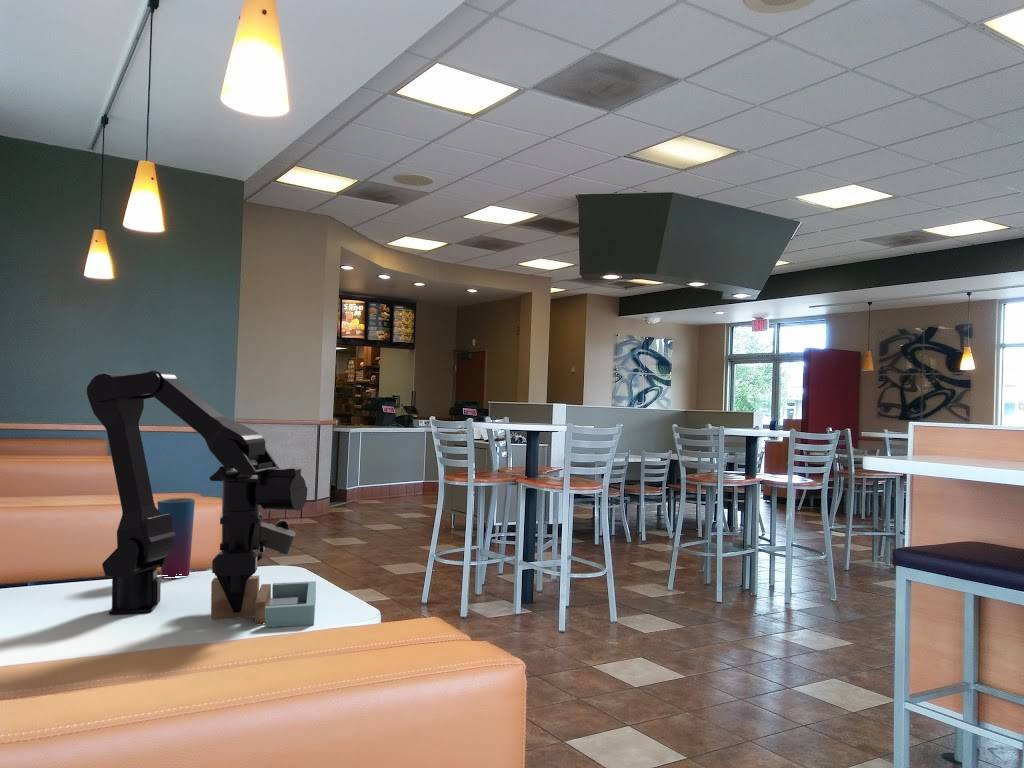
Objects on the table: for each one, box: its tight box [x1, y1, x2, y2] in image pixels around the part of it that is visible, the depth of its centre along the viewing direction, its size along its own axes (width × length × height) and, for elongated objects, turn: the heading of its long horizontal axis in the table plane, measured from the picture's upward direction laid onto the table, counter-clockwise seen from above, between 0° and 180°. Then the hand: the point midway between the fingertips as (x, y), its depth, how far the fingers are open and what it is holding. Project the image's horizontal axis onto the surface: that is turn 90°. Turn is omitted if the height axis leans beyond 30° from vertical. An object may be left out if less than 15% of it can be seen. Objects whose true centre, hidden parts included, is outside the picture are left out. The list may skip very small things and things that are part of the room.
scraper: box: [210, 575, 272, 626], centre depth 124 cm, size 8×12×6 cm
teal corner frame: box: [264, 580, 317, 629], centre depth 126 cm, size 7×16×3 cm, turn 13°
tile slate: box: [269, 597, 299, 606], centre depth 129 cm, size 4×4×2 cm
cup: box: [157, 497, 196, 578], centre depth 152 cm, size 7×7×15 cm
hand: (239, 605), depth 124 cm, fingers open, 7 cm apart
